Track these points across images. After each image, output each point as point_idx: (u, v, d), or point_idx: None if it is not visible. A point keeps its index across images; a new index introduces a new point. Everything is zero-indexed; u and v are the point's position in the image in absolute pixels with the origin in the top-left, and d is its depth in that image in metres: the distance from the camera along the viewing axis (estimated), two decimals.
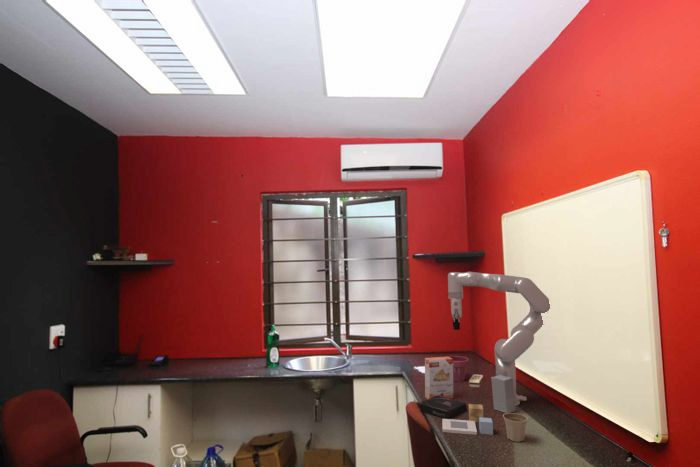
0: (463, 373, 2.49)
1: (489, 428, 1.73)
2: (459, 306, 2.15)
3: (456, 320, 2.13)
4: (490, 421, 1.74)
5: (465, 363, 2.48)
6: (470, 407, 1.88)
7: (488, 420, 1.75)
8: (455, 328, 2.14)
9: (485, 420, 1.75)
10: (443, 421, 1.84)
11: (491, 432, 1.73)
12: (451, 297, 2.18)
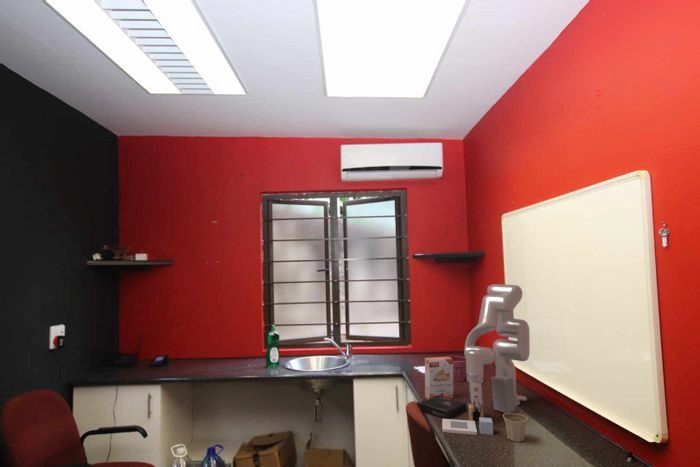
0: (463, 373, 2.49)
1: (489, 428, 1.73)
2: (480, 392, 1.84)
3: (476, 410, 1.84)
4: (490, 421, 1.74)
5: (465, 363, 2.48)
6: (470, 407, 1.88)
7: (488, 420, 1.75)
8: (475, 419, 1.85)
9: (485, 420, 1.75)
10: (443, 421, 1.84)
11: (491, 432, 1.73)
12: (470, 380, 1.87)
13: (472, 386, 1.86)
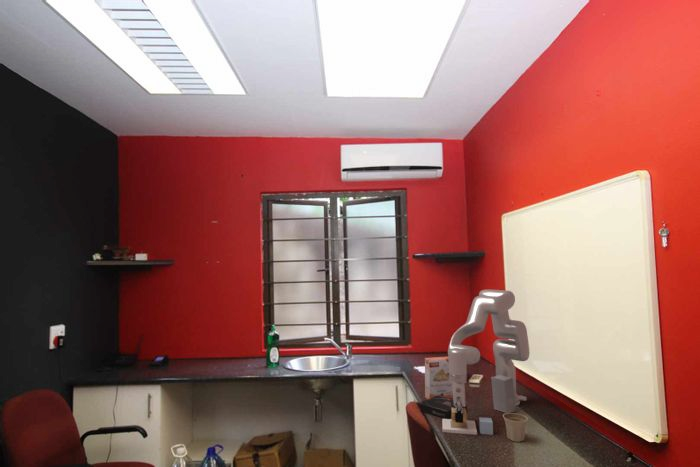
0: None
1: (489, 428, 1.73)
2: (462, 393, 1.76)
3: (459, 411, 1.74)
4: (490, 421, 1.74)
5: None
6: (453, 411, 1.79)
7: (488, 420, 1.75)
8: (457, 420, 1.75)
9: (485, 420, 1.75)
10: (443, 421, 1.84)
11: (491, 432, 1.73)
12: (452, 381, 1.79)
13: (454, 387, 1.77)
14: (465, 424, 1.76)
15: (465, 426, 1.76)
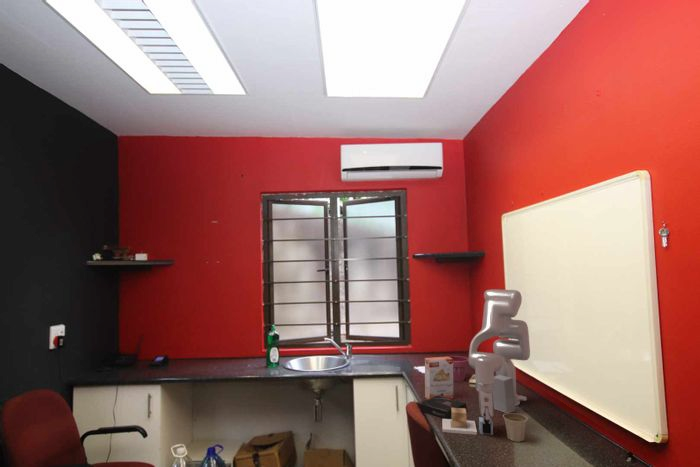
0: (463, 373, 2.49)
1: None
2: (490, 403, 1.71)
3: (486, 422, 1.71)
4: (490, 421, 1.74)
5: (465, 363, 2.48)
6: (453, 411, 1.79)
7: None
8: (485, 431, 1.72)
9: None
10: (443, 421, 1.84)
11: (491, 432, 1.73)
12: (480, 390, 1.74)
13: (482, 396, 1.72)
14: (465, 424, 1.76)
15: (465, 426, 1.76)
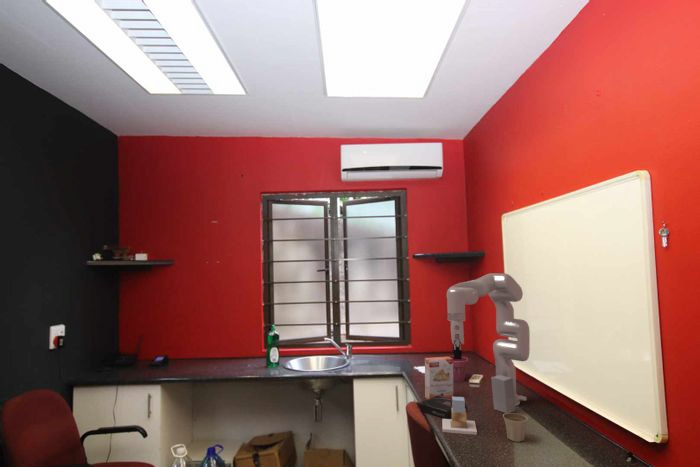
0: (463, 373, 2.49)
1: (462, 406, 1.78)
2: (461, 330, 1.77)
3: (457, 348, 1.75)
4: (462, 400, 1.79)
5: (465, 363, 2.48)
6: None
7: (461, 399, 1.79)
8: (456, 357, 1.77)
9: (458, 399, 1.80)
10: (443, 421, 1.84)
11: (463, 410, 1.77)
12: (451, 319, 1.80)
13: (453, 324, 1.79)
14: (465, 424, 1.76)
15: (465, 426, 1.76)
